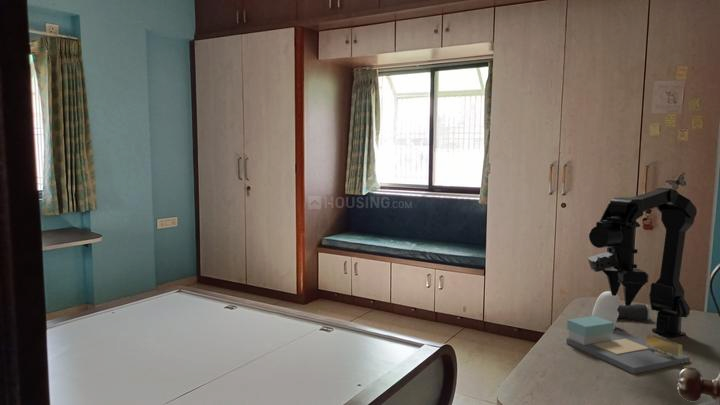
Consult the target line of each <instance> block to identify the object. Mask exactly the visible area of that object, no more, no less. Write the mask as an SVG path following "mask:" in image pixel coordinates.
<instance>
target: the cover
mask: <svg viewBox="0 0 720 405" xmlns="http://www.w3.org/2000/svg"><path fill="white" fill-rule="evenodd" d="M566 326H567V327H566V330H568V331H569V330H570V331H572V332H575V333H577V334H580V335H582V336H584V337H587V336H594V335H600V334H606V333H613V331H615V329H614V323H613V322H611V321H608V320H605V319H602V318H600V317H597V316H592V315H590V316H585V317H578V318H569V319H567V324H566Z"/></svg>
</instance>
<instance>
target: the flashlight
mask: <svg viewBox="0 0 720 405" xmlns="http://www.w3.org/2000/svg"><path fill="white" fill-rule="evenodd" d="M617 311H618V312H619V316H618V318H617V319H627V320H633V321H634V320H635V321H647V322H649V320H650V308H649V306H648V304H640V303H636V304H632V303H631V304H630V305H625V304H620V305H619V307H618V309H617Z"/></svg>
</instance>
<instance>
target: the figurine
mask: <svg viewBox="0 0 720 405" xmlns="http://www.w3.org/2000/svg"><path fill="white" fill-rule="evenodd" d="M620 299H621V298H620V296H619V295H618V294H617V295H616V296H613V295H612V294H611V290H608V291H607V290H606V291H604V292H601V294H600V295H599V296H598V297H597V299H596V301H595V304H594V307H593V309H592V313H591V316H597V317H600V318H602V319H605V320H608V321H611V322H613V323H614V330H615V329H616V326H617V321H618V319H619V318H618V316H619V312H618V311H617V309H618V307H619V305H621V300H620Z"/></svg>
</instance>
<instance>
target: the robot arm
mask: <svg viewBox="0 0 720 405" xmlns="http://www.w3.org/2000/svg"><path fill="white" fill-rule="evenodd" d="M654 208H656V209H657V210H658V211H659V212H660V218H661V219H660V220H661V223H662V224H663V227H664V228H665V237H664V242H663V251H662V258H661V266H660V273H659V275H660V276H659V278H658V279H657V280H656V281H655V282H652V283H651V284H650V292H649V295H648V296H649V297H648V298H649V302H650V308H651V310H652V311H656V312H657V313H656V314H657V316H656V324H655V328H653V327H652V328H651V331H653V332H655V333H658V334H660V335H664V336H667V337H669V338H674V337H680V336H686V335H687V333H686V332H684V331H682V321H683V320H682V318H688V316H689V315H690V311H691V307H690V306H689V304H688V303H687V300H686V299H685V289H684V288H683V286H682V284H681V282H680V279H681V278H680V276H681V269H682V262H683V255H684V246H685V238H686V233H687V231H688V230H689V229H690V228H691V227H692V226H693V225H694V223H695V218H696V216H697V213H698V212H697V210H698V209H697V207H696V206H695V204H694V203H693V202H692V200H690V199H689V198H687V197H685V196H684V195H682V194H680V193H679V192H678V190H676V189H674V188H670V187H669V188H668V187H657V188H655V189H654V190H651V191H647V192H644V193H642V194H639V195H635V196H632V197H631V196H629V197H626V196H625V197H621V196H620V197H613V198H611V199H610V201H609V203H608V205H607V206H606V208H605V210H604V212H603V214H602V216H601V217H600V220H599V221H597V222H596V224H595V225H596V226H594V227H592V228H591V230H590V232H589V235H588V238H589V242H590V244H592V246H593V247H596V248H597V249H602V248H606V252H602V253H598V254H595V255H592V256H589V257H588V258H587V261H588V264H589V266H590V270H593V271H594V272H596V273H597V272H602V273H603V274H604V275H605V276H606V278H607V282H608V285H609V291H611V294H612V295H613V296H616V295H618V292H619V290H620V286H621V285H622V288H623V297H624V298H623V299H624V306H625V305H630V304H631V305H632V303H633V301H634V300H635V298H636V297H637V295H638V293H639V291H640V290H641V289H642V288H643V286H645V285H646V284H648V283H649V274H648V273H647V272H646V271H644V270H643V269H640V268H638V265H637V264H636V263H635V254H638V249H637V248H636V247H635V246H636V244H635V243H636V228H640V227H641V224H640V223H639V222H638V221H637V220H638V219H640V218H641V217H643V216H644V212H647V211H648V210H651V209H654Z"/></svg>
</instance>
